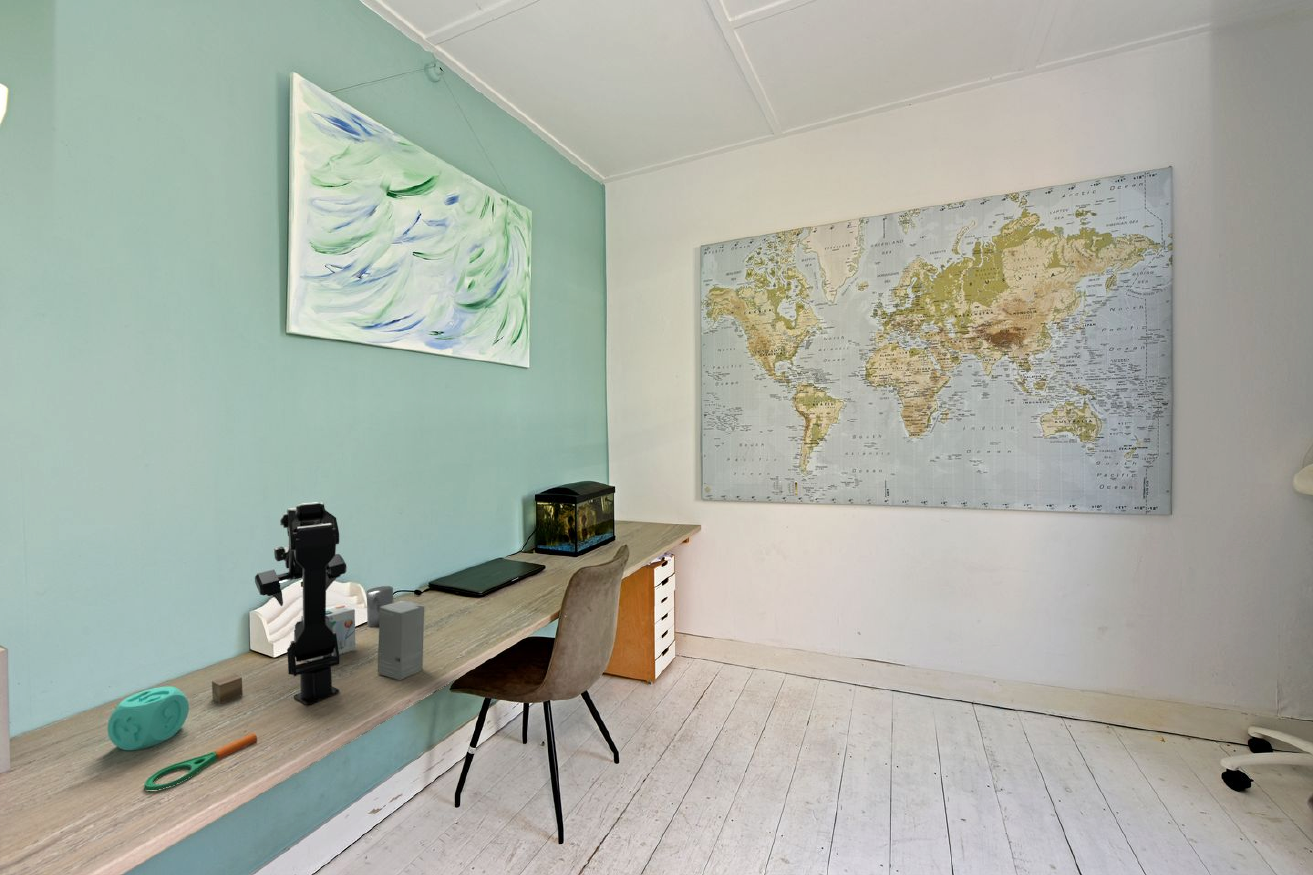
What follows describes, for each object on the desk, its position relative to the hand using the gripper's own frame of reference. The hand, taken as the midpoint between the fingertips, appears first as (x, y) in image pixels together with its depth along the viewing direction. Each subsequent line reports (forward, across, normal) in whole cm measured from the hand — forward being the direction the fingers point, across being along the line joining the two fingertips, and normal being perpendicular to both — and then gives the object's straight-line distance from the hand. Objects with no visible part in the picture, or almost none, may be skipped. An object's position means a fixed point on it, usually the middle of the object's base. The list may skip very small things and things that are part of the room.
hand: (302, 598), depth 137 cm
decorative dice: (0, +31, +26) cm, 41 cm away
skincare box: (-1, -11, +36) cm, 37 cm away
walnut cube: (+5, +19, +19) cm, 27 cm away
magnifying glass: (-8, +26, +42) cm, 50 cm away
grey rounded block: (+17, -20, +2) cm, 26 cm away
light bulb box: (+10, -3, +12) cm, 16 cm away
